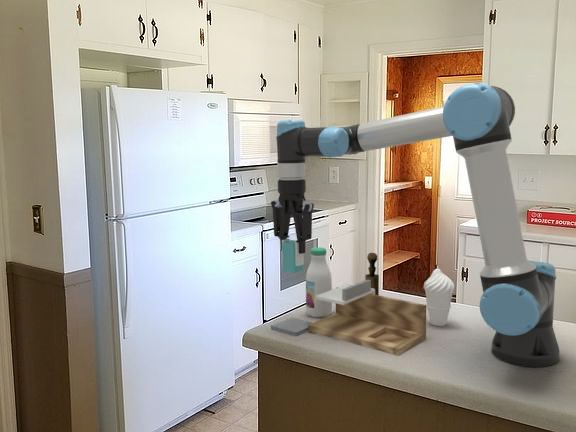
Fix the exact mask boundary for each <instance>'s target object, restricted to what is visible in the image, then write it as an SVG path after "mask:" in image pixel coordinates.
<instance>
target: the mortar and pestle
mask: <svg viewBox="0 0 576 432" xmlns="http://www.w3.org/2000/svg"><path fill="white" fill-rule="evenodd" d="M366 258H367V261H368V263H369V267H367V268H368V274H365V279H364V281H365V280H371V288H373V289H375V295H379V296H380V294H379V293H380V292H379V289H380V287H379V286H380V285H379V283H380V282H379V281H380V280H379V277H380V275H379V274H376V270H377V267H376V266H375V265H376V263H377V262H378V261H377V260H378V255H377V253H376V252H369V253H368V254H367V256H366Z"/></svg>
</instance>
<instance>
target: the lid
mask: <svg viewBox="0 0 576 432" xmlns="http://www.w3.org/2000/svg"><path fill="white" fill-rule="evenodd" d="M337 287H338V288H337ZM337 287H335V288H333V289H332V290H330V291H327V292H325V293H322V294H319V295H317V296H316V299H319V300H323V301H328V302H332V304H333V303H334V304H336V303H337V304H341V305H345V304H347V303H349V302H352V301H354V300H357V299H359V298H361V297H364V296H366V295H369V294H375V289H373V288H371V280H365V279H364V280H363V281H360V282H358V283H355V284H352V283H347V284H344V285H341V286H337Z"/></svg>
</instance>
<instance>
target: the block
mask: <svg viewBox="0 0 576 432" xmlns="http://www.w3.org/2000/svg"><path fill="white" fill-rule="evenodd" d="M295 242H296V240H294V239H290V241H286V242H282V251H281V256H282V255H283V263H282V271H283V272H287V273H291V274H295V273H298V272H302V271H304V264H303V265H299V266H295Z"/></svg>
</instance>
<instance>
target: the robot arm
mask: <svg viewBox="0 0 576 432" xmlns="http://www.w3.org/2000/svg"><path fill="white" fill-rule="evenodd" d="M515 114H516V105H515V101H514V100H513V97H512V96H511V95H510V94H509V92H508V91H506V90H505V89H503V88H501V87H499V86H494V85H489V84H487V83H483V82H473V83H468V84H464V85H461V86H459V87H458V88H456V89H454V91H453V92H451V93H450V95H449V96H448V97H447V99H446V100H445V102H444V105H442V106H439V107H434V108H433V107H432V108H430V109H429V108H428V109H425V110H420V111H415V112H410V113H405V114H402V115H396V116H392V117H388V118H382V119H378V120H373V121H368V122H363V123H359V124H353V125H348V126H325V127H323V126H322V127H321V126H320V127H308V126H307V127H306V123H305V120H302V119H301V120H299V119H297V120H296V119H295V120H293V119H292V120H289V119H288V120H280V121H278V122H277V125H276V136H275V138H276V150H277V153H276V155H277V156H276V157H277V160H276V161H277V163H276V164H277V166H276V167H277V168H276V169H277V173H276V176H277V178H279V179H278V180H277V193H278V194H279V196H278V198H277V199H276V200H271V202H270V205H271V209H272V218H273V219H272V222H273V223H272V224H273V235H274V237H277V238H278V239H279V243H280V244H279V245H280V246H279V247H280V248H279V249H280V251H281V252H282V242H286V241H290V240H291V238H290V237H291V236H290V235H289V232H290V231H289V230H290V225H291V217H292V218H293V223H294V224H293V225H294V228H295V229H294V230H295V234H296V240H295V241H296V242H295V266H299V265H303V266H304V265H305V260H304V255H305V253H306V241H309V240H311V239H312V237H313V236H312V233H313V230H312V229H313V210H314V207H315V204H314V203H313V202H312V203H311V202H308V201H306V197H305V194H306V191H307V189H306V188H307V187H306V182H307V181H306V179H305V177H306V157H313V158H314V157H315V158H316V157H318V158H319V157H320V158H338V157H340V158H342V157H343V156H344V155H345V156H346V155H348V156H349V155H350V156H351V155H357V154H359V153H364V152H369V151H374V150H375V151H376V150H381V149H385V148H393V147H398V146H404V145H407V144H416V143H420V142H425V141H432V140H436V139H442V138H449V137H453V143H454V147H455V153H456V154H457V155H460V156H461V157H463V158H464V162H465V166H466V167H465V168H466V173H467V177H468V183H469V188H470V194H471V198H472V204H473V209H474V215H475V219H476V224H477V229H478V234H479V239H480V245H481V249H482V255H483V260H484V267H483V268H482V269H481V271H480V272H479V278H480V282H481V287H482V294H481V296H480V301H479V311H480V312H479V313H480V314H481V317H482V319H483V321H484V322H485V324H486V325H487V326H488V327H489V328H491V329H492V330H494V331H495V333H494V335H493V337H492V340H491V350H490V351H491V353H492V355H493V356H494V357H496V358H497V359H499V360H501V361H503V362H506V363H509V364H513V365H517V366H523V367H532V368H534V367H535V368H542V367H548V366H549V367H550V366H552V365H553V366H554V365H555V364H557V363H558V362H559V361H560V352H561V351H560V347H559V344H558V340H557V337H556V333H555V329H554V326H553V325H554V309H555V292H556V291H555V289H556V279H557V276H556V267H555V266H554V264H551V263H549V262H548V263H547V262H544V261H535V260H529V259H528V258H527V252H526V248H525V243H524V242H525V241H524V238H523V232H522V228H521V221H520V216H519V212H518V207H517V202H516V201H517V200H516V197H515V196H516V195H515V191H514V186H513V179H512V176H511V171H510V165H509V160H508V155H507V154H508V153H507V148H508V147H509V145H510V144H511V142H512V141H513V139H512V134H511V130H510V126H511V125H512V123H513V121H514V119H515V116H516V115H515ZM281 264H283V255H282V254H281Z"/></svg>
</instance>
